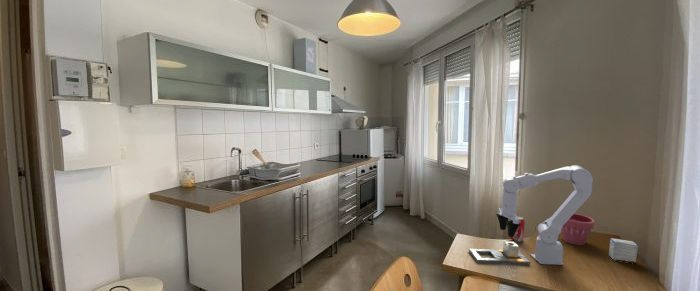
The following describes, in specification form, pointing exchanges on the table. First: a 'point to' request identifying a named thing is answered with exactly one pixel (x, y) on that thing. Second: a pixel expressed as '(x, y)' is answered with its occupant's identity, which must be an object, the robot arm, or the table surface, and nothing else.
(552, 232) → the robot arm
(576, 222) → the plant pot
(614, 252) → the medicine box
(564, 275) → the table surface
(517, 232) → the beverage can
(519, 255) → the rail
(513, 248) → the grey rectangular block
